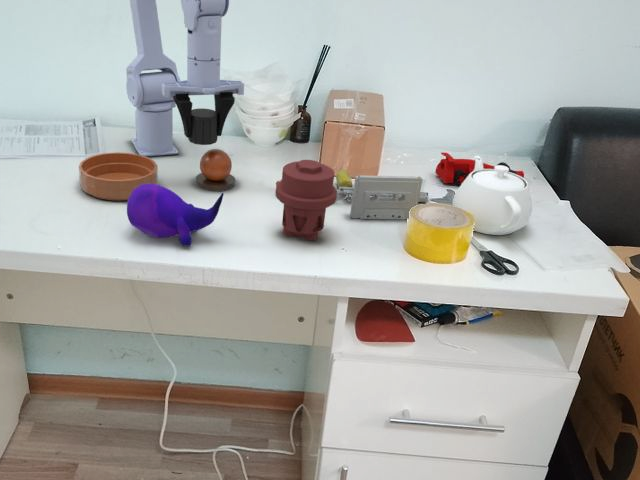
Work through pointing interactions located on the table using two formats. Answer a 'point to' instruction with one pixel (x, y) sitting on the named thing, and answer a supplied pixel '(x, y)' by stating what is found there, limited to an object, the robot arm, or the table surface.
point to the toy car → (461, 169)
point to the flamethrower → (347, 188)
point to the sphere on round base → (215, 171)
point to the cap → (204, 126)
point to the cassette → (384, 207)
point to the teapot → (495, 199)
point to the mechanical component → (305, 197)
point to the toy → (167, 213)
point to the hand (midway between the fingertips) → (202, 135)
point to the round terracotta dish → (116, 174)
